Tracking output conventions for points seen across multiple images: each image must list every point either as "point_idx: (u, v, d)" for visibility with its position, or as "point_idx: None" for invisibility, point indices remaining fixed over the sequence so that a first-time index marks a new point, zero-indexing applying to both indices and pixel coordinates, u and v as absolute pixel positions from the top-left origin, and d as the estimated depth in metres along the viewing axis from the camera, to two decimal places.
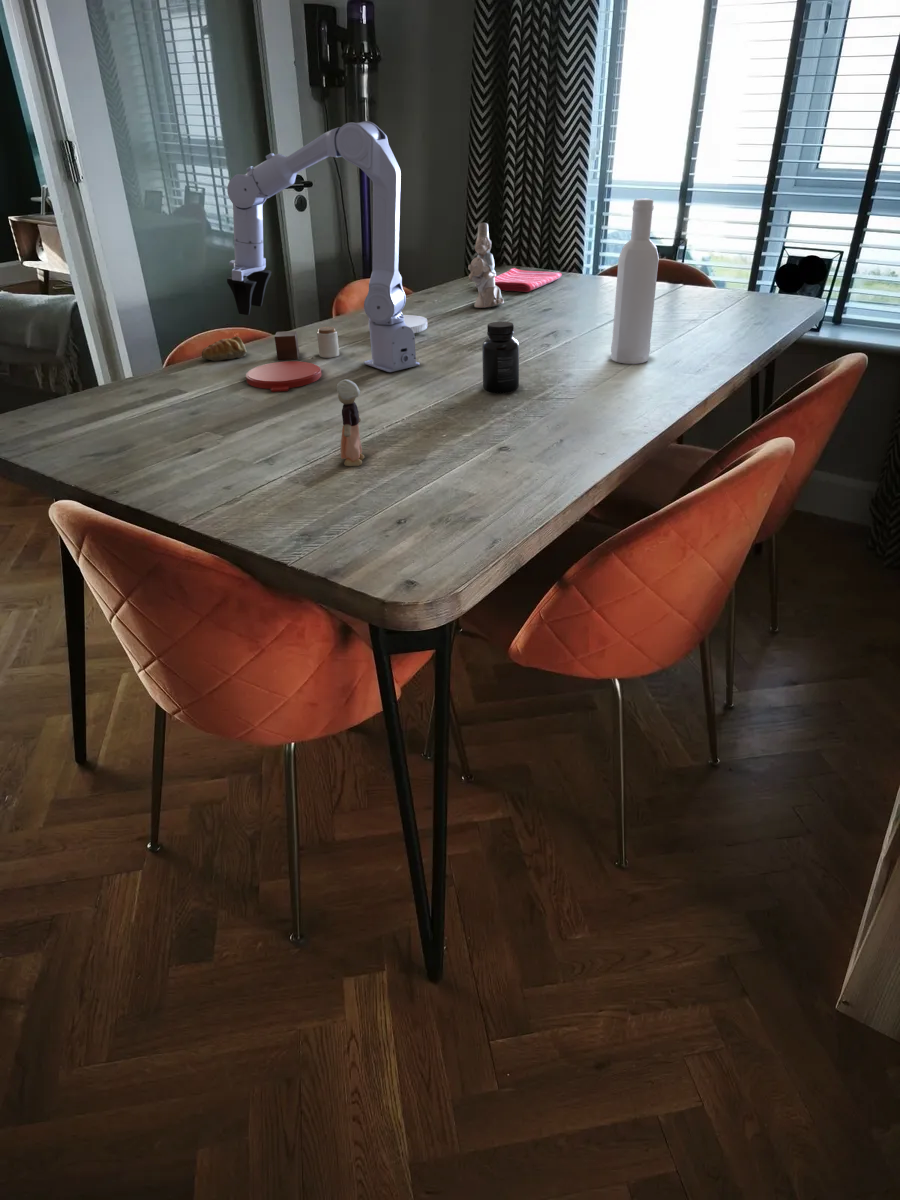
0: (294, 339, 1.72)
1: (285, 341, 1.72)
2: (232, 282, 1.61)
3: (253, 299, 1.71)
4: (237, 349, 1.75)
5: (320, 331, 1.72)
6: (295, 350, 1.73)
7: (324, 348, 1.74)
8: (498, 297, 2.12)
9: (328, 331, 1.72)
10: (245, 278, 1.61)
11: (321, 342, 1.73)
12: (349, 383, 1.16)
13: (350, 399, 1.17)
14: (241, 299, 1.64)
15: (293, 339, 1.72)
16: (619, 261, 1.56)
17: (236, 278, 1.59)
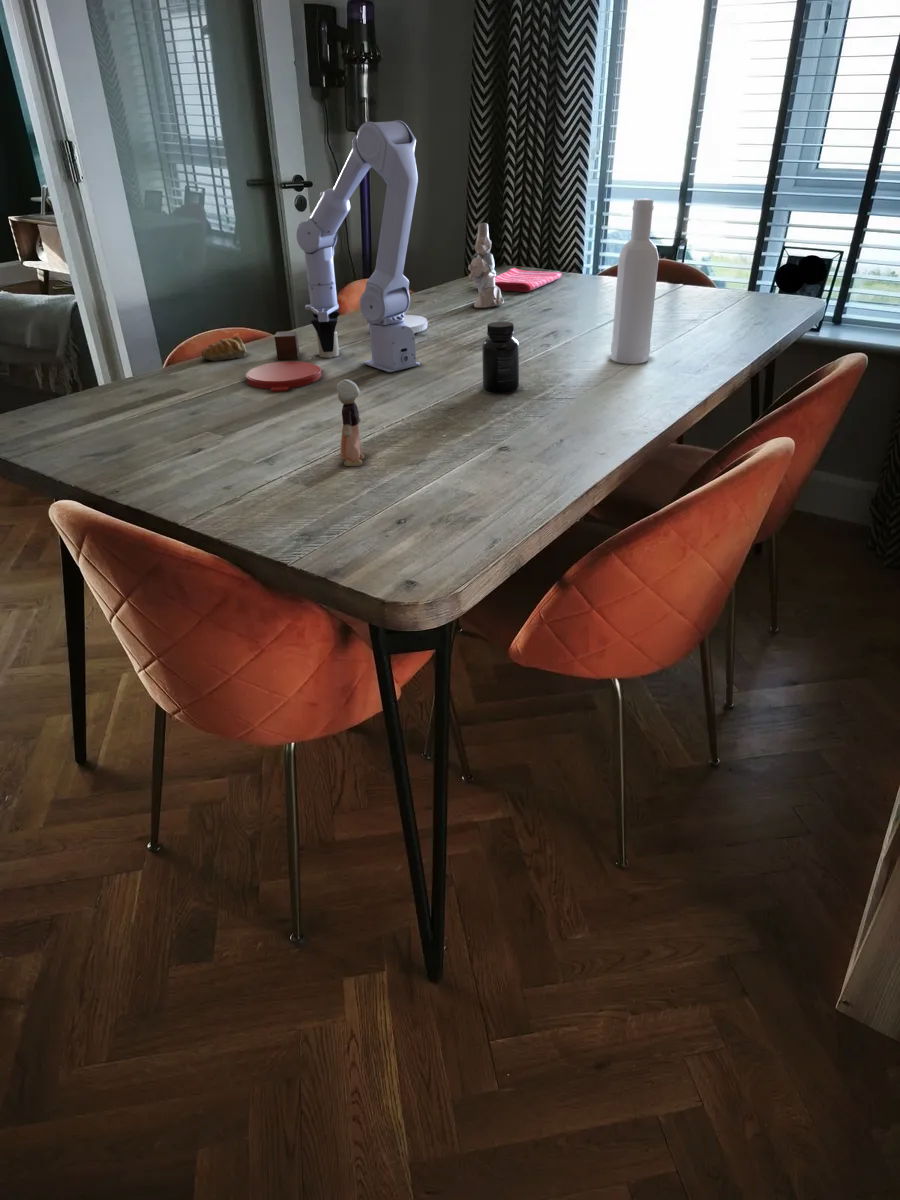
0: (294, 339, 1.72)
1: (285, 341, 1.72)
2: (317, 323, 1.68)
3: None
4: (237, 349, 1.75)
5: None
6: (295, 350, 1.73)
7: None
8: (498, 297, 2.12)
9: None
10: (328, 317, 1.69)
11: None
12: (349, 383, 1.16)
13: (350, 399, 1.17)
14: (325, 338, 1.72)
15: (293, 339, 1.72)
16: (619, 261, 1.56)
17: (322, 319, 1.65)
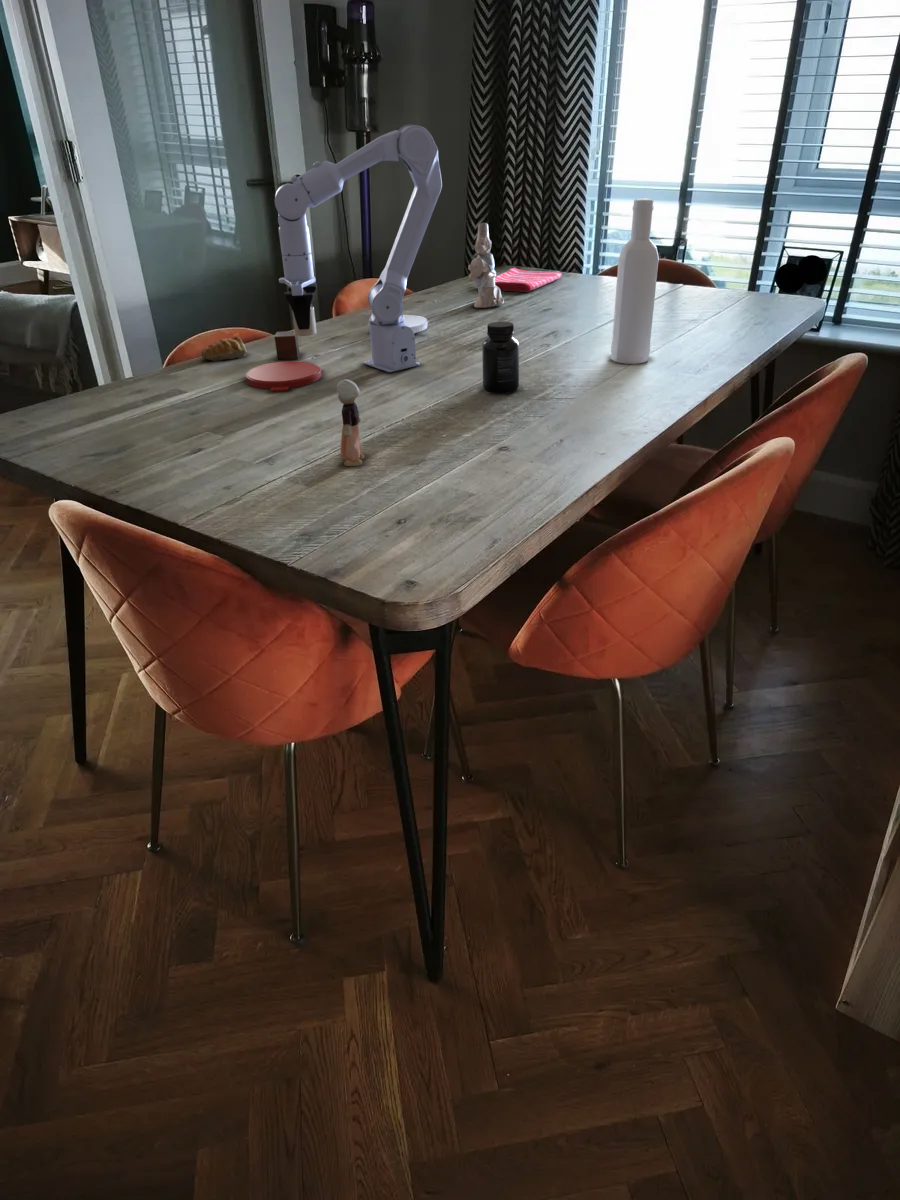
0: (294, 339, 1.72)
1: (285, 341, 1.72)
2: (291, 297, 1.54)
3: None
4: (237, 349, 1.75)
5: None
6: (295, 350, 1.73)
7: None
8: (498, 297, 2.12)
9: None
10: (303, 291, 1.55)
11: None
12: (349, 383, 1.16)
13: (350, 399, 1.17)
14: (300, 314, 1.58)
15: (293, 339, 1.72)
16: (619, 261, 1.56)
17: (296, 293, 1.52)
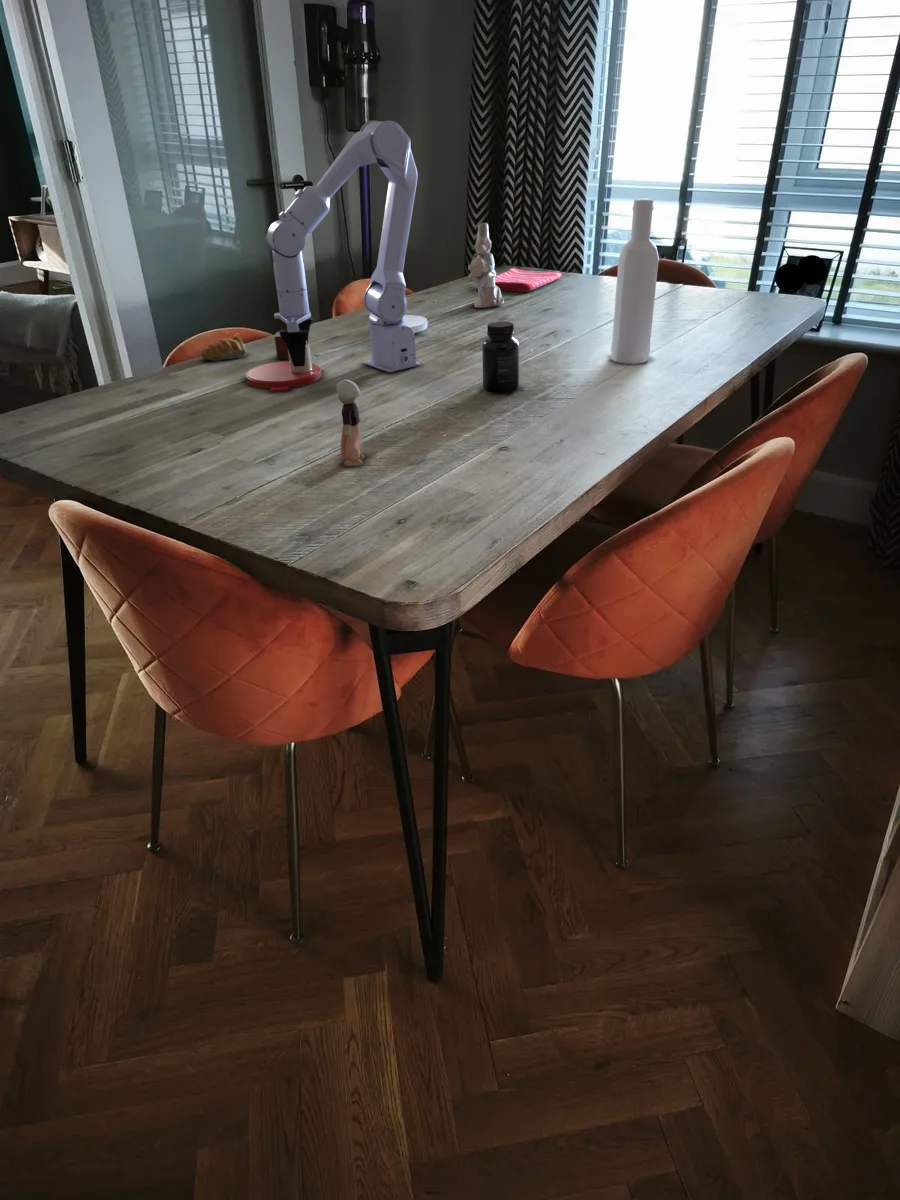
0: None
1: None
2: (286, 335, 1.52)
3: None
4: (237, 349, 1.75)
5: None
6: None
7: None
8: (498, 297, 2.12)
9: None
10: (298, 328, 1.53)
11: None
12: (349, 383, 1.16)
13: (350, 399, 1.17)
14: (295, 351, 1.56)
15: None
16: (619, 261, 1.56)
17: (292, 329, 1.51)
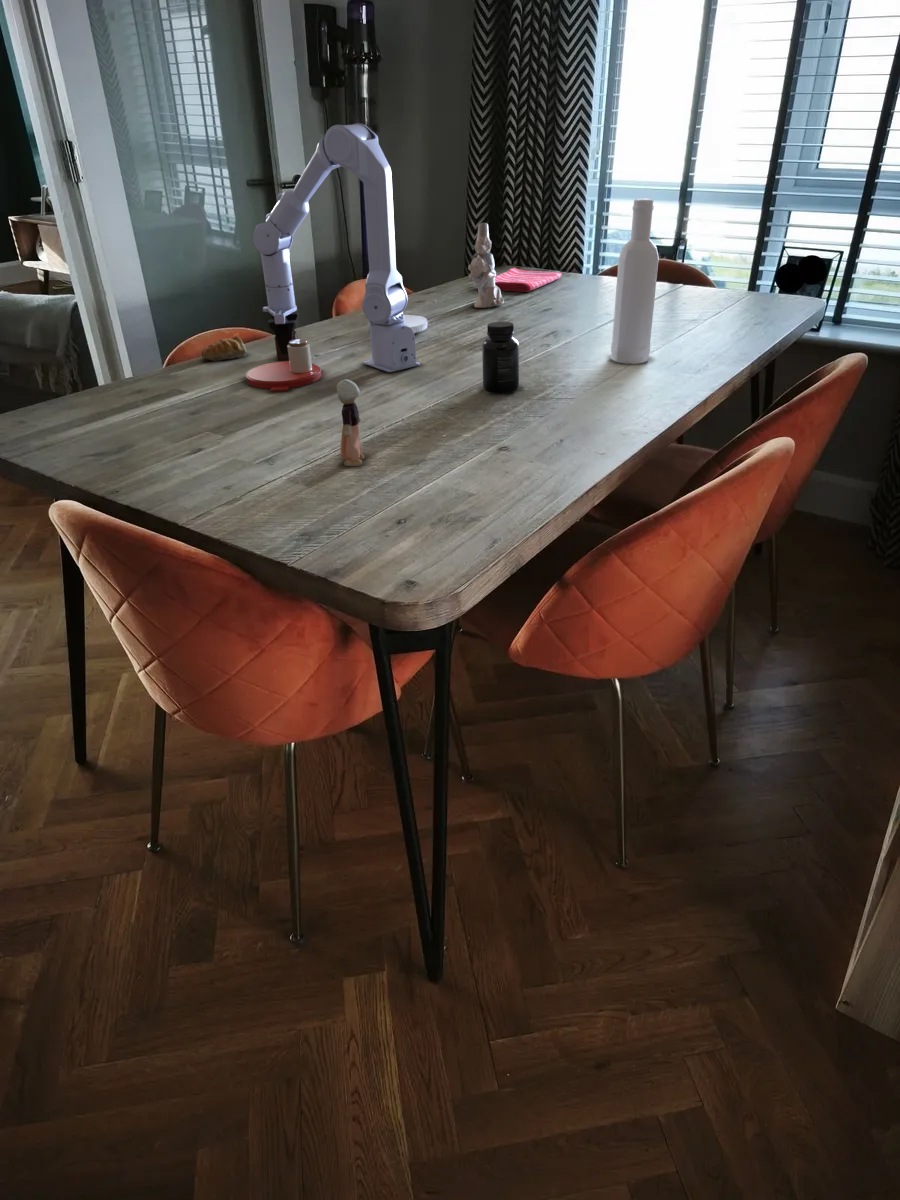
0: (294, 339, 1.72)
1: None
2: (275, 325, 1.68)
3: None
4: (237, 349, 1.75)
5: (290, 344, 1.58)
6: None
7: (296, 363, 1.59)
8: (498, 297, 2.12)
9: (299, 344, 1.58)
10: (285, 319, 1.68)
11: (292, 357, 1.59)
12: (349, 383, 1.16)
13: (350, 399, 1.17)
14: (283, 340, 1.71)
15: (293, 339, 1.72)
16: (619, 261, 1.56)
17: (279, 321, 1.65)
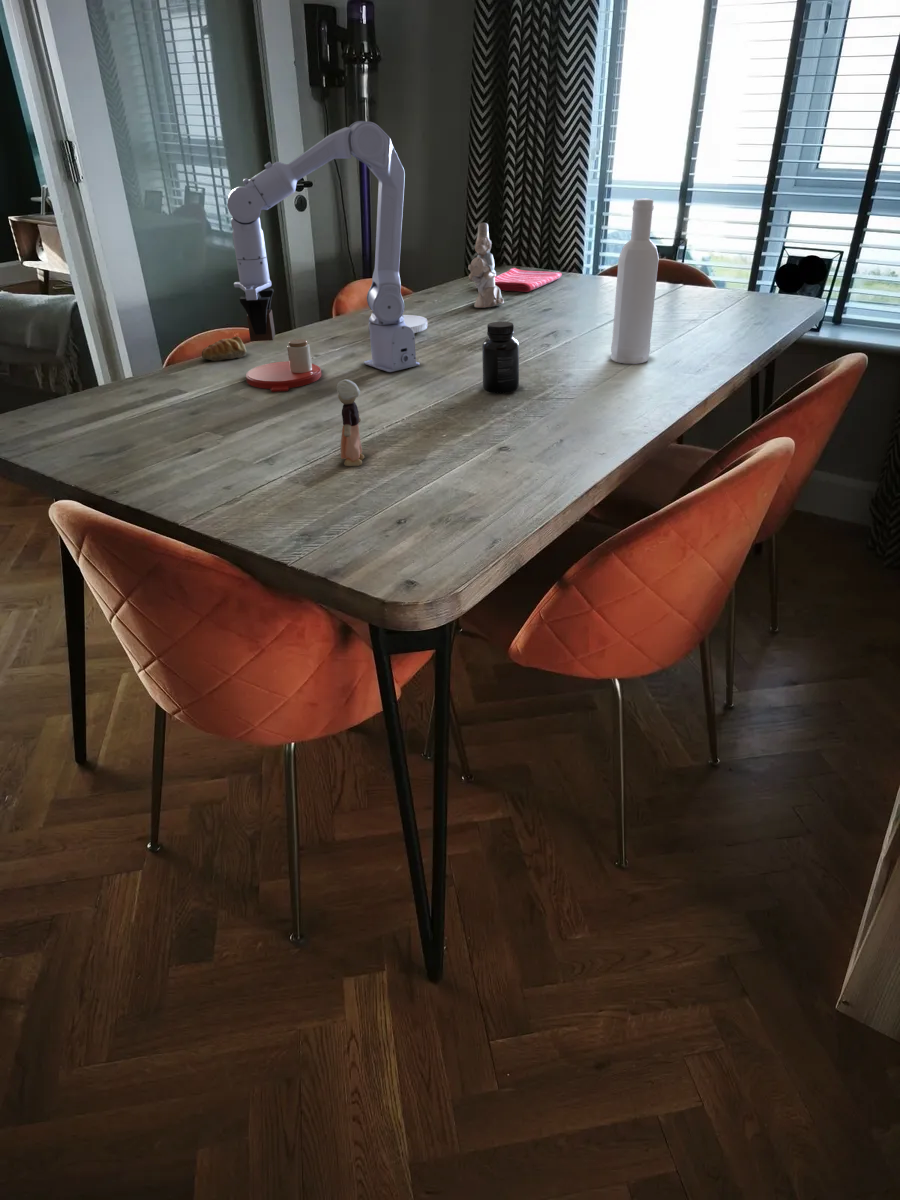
0: (268, 318, 1.56)
1: None
2: (246, 302, 1.52)
3: None
4: (237, 349, 1.75)
5: (290, 344, 1.58)
6: (270, 330, 1.57)
7: (296, 363, 1.59)
8: (498, 297, 2.12)
9: (299, 344, 1.58)
10: (258, 295, 1.53)
11: (292, 357, 1.59)
12: (349, 383, 1.16)
13: (350, 399, 1.17)
14: (256, 318, 1.55)
15: (268, 318, 1.56)
16: (619, 261, 1.56)
17: (251, 297, 1.49)
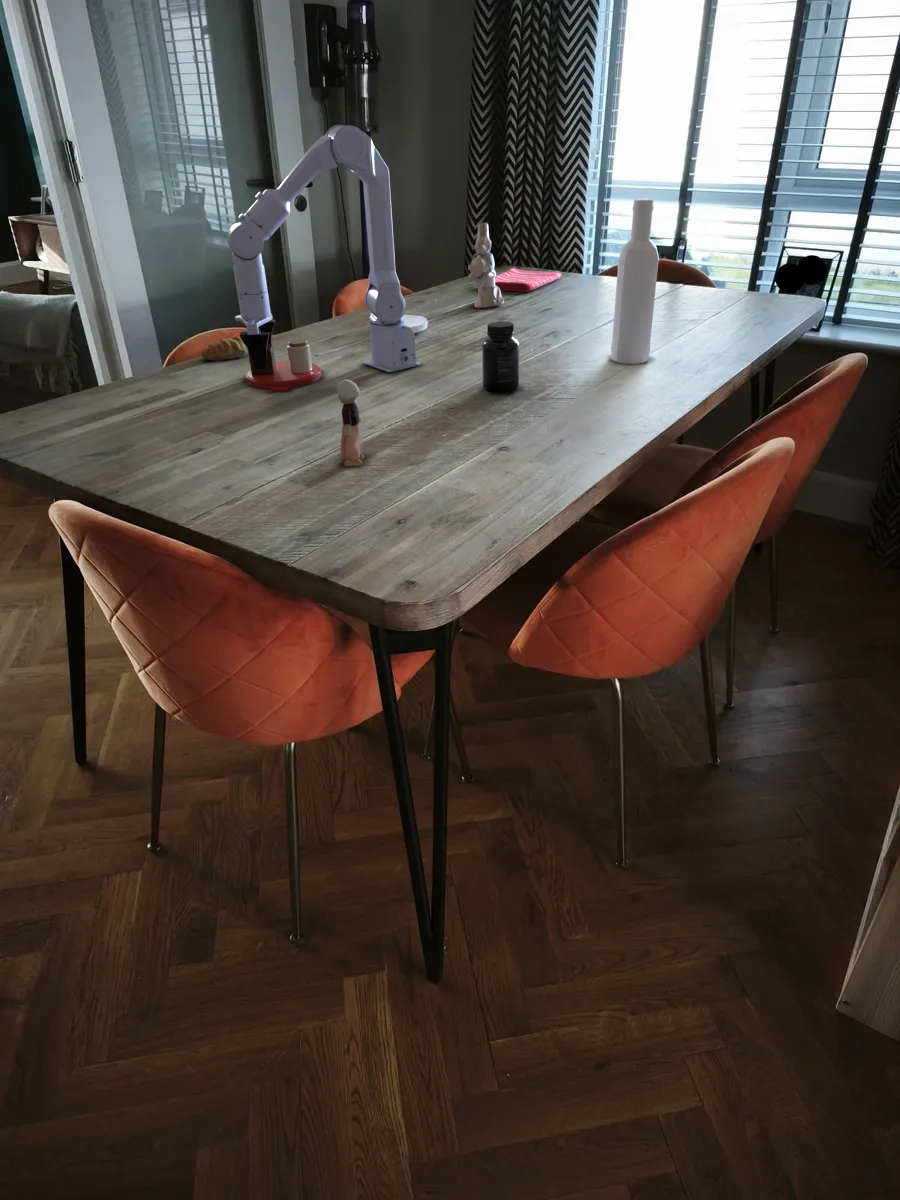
0: (269, 353, 1.58)
1: None
2: (247, 337, 1.52)
3: None
4: (237, 349, 1.75)
5: (290, 344, 1.58)
6: (271, 365, 1.59)
7: (295, 363, 1.59)
8: (498, 297, 2.12)
9: (299, 344, 1.58)
10: (259, 331, 1.53)
11: (292, 357, 1.59)
12: (349, 383, 1.16)
13: (350, 399, 1.17)
14: (256, 353, 1.55)
15: (269, 353, 1.58)
16: (619, 261, 1.56)
17: (252, 332, 1.50)
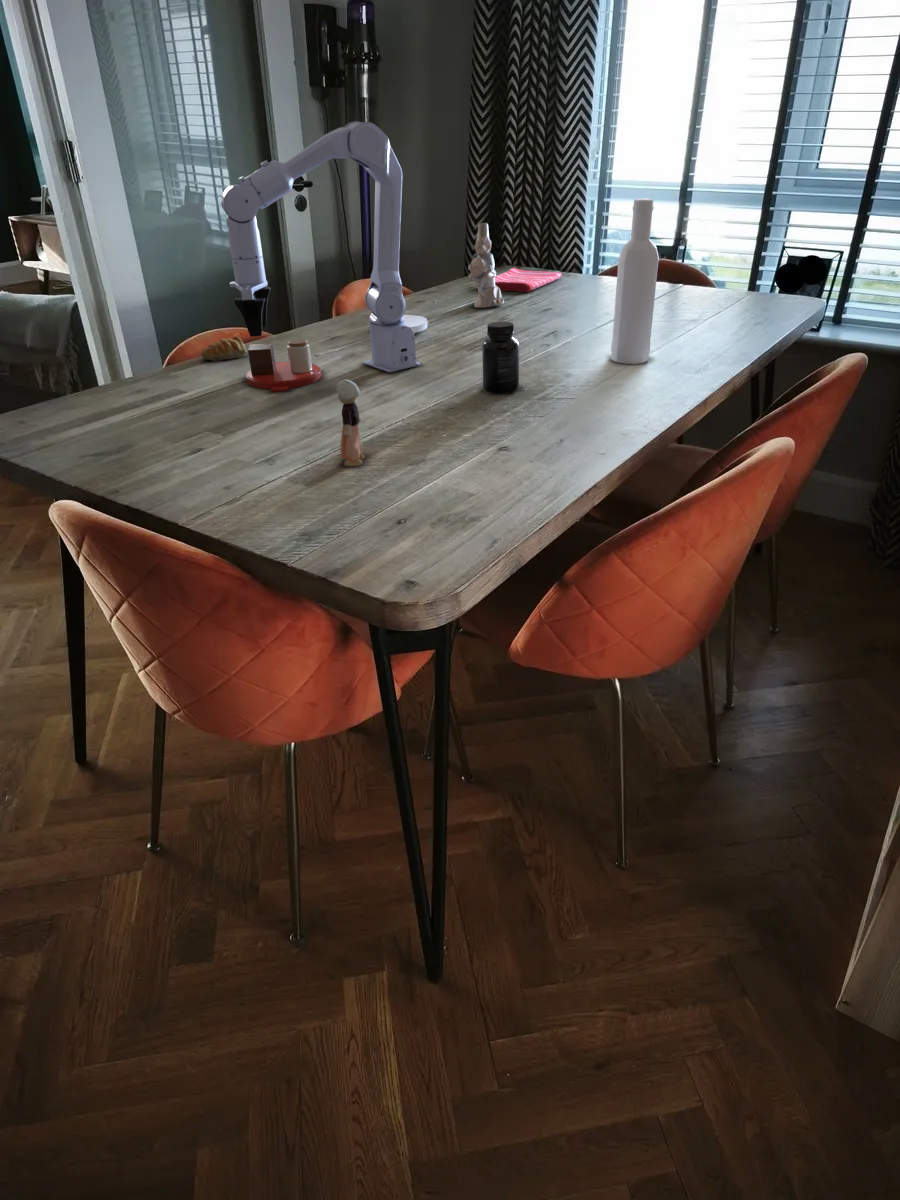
0: (269, 353, 1.58)
1: (259, 355, 1.58)
2: (241, 303, 1.49)
3: None
4: (237, 349, 1.75)
5: (290, 344, 1.58)
6: (271, 365, 1.59)
7: (295, 363, 1.59)
8: (498, 297, 2.12)
9: (299, 344, 1.58)
10: (253, 296, 1.50)
11: (292, 357, 1.59)
12: (349, 383, 1.16)
13: (350, 399, 1.17)
14: (251, 320, 1.52)
15: (269, 353, 1.58)
16: (619, 261, 1.56)
17: (246, 297, 1.47)
